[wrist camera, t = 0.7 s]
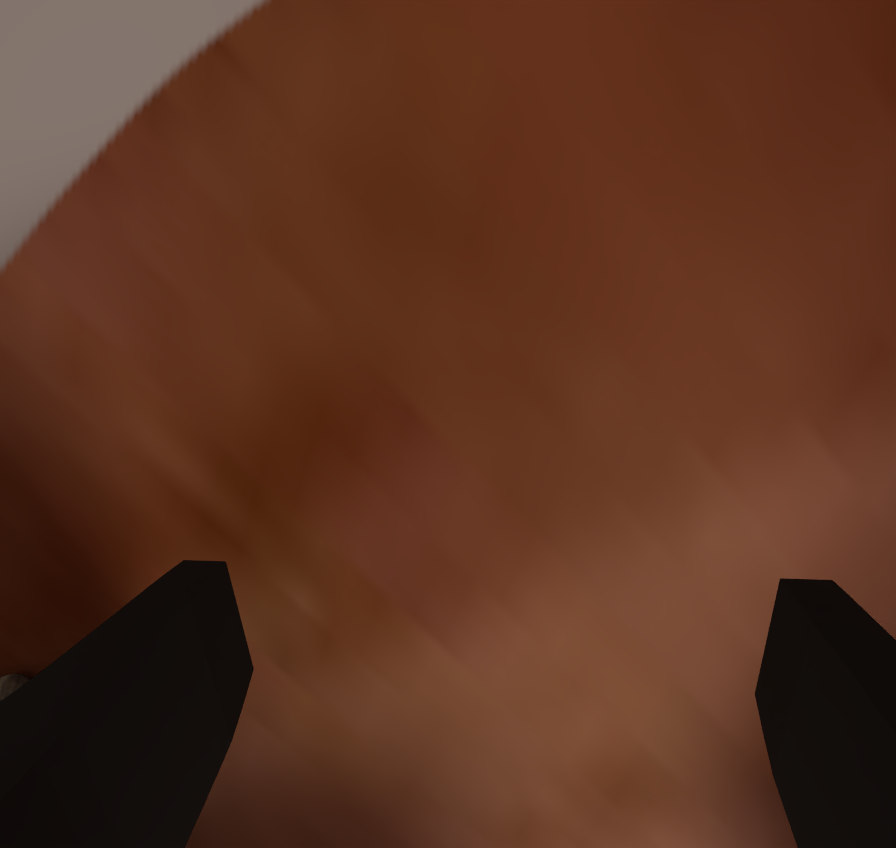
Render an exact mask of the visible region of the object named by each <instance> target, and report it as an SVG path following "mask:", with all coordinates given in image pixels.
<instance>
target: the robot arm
mask: <svg viewBox="0 0 896 848" xmlns="http://www.w3.org/2000/svg"><path fill="white" fill-rule="evenodd" d="M253 669H254V668H253V665H252V661H251V657H250V653H249V649H248V645H247V641H246V638H245V634H244V630H243V626H242V622H241V618H240V614H239V611H238V607H237V603H236V599H235V595H234V591H233V587H232V584H231V580H230V576H229V572H228V568H227V564H226V562H224V561H191V560H183V561H182V562H181V563H179V564H178V565H177V566H175V567H174V568H172V569H171V570H170V571H168V572H167V573H166V574H164V575H163V576H162V577H160V578H159V579H158V580H157V581H155V582H154V583H153V584H151V585H150V586H149V587H148V588H146V589H145V590H144V591H143V592H141V593H140V594H139V595H138V596H136V597H135V598H134V599H133V600H131V601H130V602H129V603H128V604H126V605H125V606H124V607H123V608H121V609H120V610H119V611H118V612H116V613H115V614H114V615H113V616H111V617H110V618H109V619H108V620H106V621H105V622H104V623H103V624H101V625H100V626H99V627H98V628H96V629H95V630H94V631H92V632H91V633H90V634H89V635H87V636H86V637H85V638H83V639H82V640H81V641H80V642H78V643H77V644H76V645H75V646H73V647H72V648H71V649H69V650H68V651H67V652H66V653H64V654H63V655H62V656H61V657H59V658H58V659H57V660H55V661H54V662H53V663H52V664H50V665H49V666H48V667H47V668H45V669H44V670H43V671H41V672H40V673H39V674H37V675H36V676H35V677H33V678H32V679H30V680H29V681H28V682H26V683H25V684H24V685H22V686H21V687H20V688H18V689H17V690H15V691H14V692H13V693H11V694H10V695H9V696H7V697H6V698H4V699H3V700H2V701H0V848H185V846H186V843H187V841H188V839H189V837H190V835H191V832H192V830H193V828H194V826H195V823H196V821H197V819H198V817H199V814H200V812H201V810H202V808H203V806H204V803H205V801H206V799H207V797H208V794H209V792H210V790H211V787H212V785H213V783H214V781H215V778H216V776H217V774H218V772H219V769H220V767H221V765H222V762H223V760H224V758H225V755H226V753H227V751H228V748H229V746H230V744H231V741H232V738H233V735H234V732H235V729H236V726H237V723H238V720H239V717H240V714H241V710H242V707H243V704H244V700H245V697H246V694H247V690H248V687H249V683H250V680H251V676H252V673H253ZM755 697H756V701H757V706H758V711H759V716H760V720H761V725H762V730H763V734H764V739H765V743H766V747H767V752H768V756H769V760H770V764H771V769H772V773H773V776H774V779H775V782H776V785H777V788H778V791H779V794H780V797H781V800H782V803H783V806H784V809H785V812H786V815H787V818H788V820H789V823H790V826H791V829H792V832H793V835H794V838H795V841H796V844H797V846H798V848H896V640H895V639H894V638H893V637H892V636H891V635H890V634H889V633H888V632H887V631H886V630H885V629H884V628H882V627H881V626H880V625H879V624H878V623H877V622H876V621H875V620H874V619H873V618H872V617H871V616H870V615H869V614H868V613H867V612H866V611H865V610H864V609H863V608H862V607H861V606H860V605H858V604H857V603H856V602H855V601H854V600H853V599H852V598H851V597H850V596H849V595H848V594H847V593H846V592H845V591H844V590H843V589H841V588H840V587H839V586H838V585H837V584H836V583H835V582H834V581H833V580H810V579H780V581H779V586H778V591H777V595H776V600H775V604H774V609H773V613H772V618H771V623H770V627H769V632H768V636H767V641H766V645H765V650H764V655H763V659H762V664H761V668H760V673H759V677H758V682H757V687H756V691H755Z"/></svg>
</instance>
